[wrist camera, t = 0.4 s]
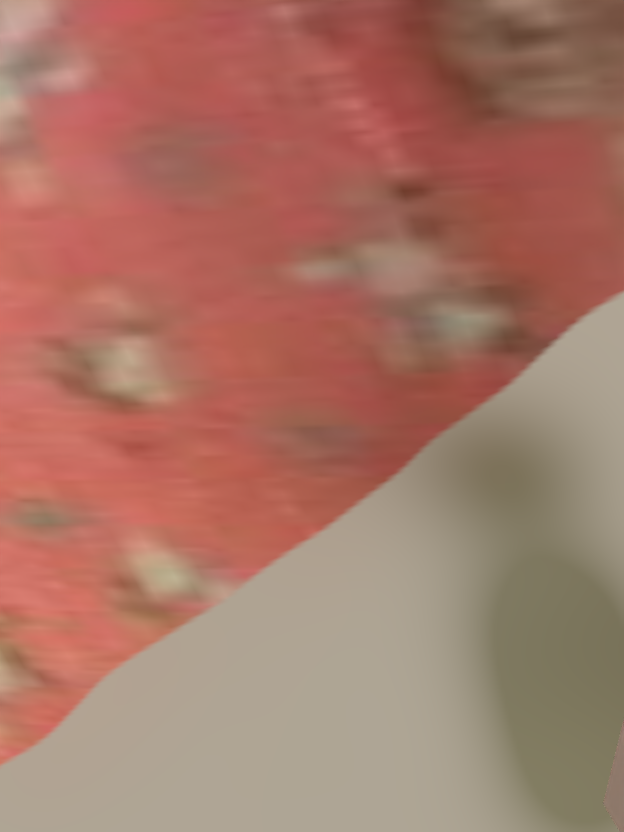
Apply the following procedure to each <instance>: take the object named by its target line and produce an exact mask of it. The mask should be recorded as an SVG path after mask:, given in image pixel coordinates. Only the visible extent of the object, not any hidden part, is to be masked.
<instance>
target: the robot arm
mask: <svg viewBox="0 0 624 832" xmlns="http://www.w3.org/2000/svg"><path fill="white" fill-rule="evenodd" d="M603 804H604V806H605V808H606V809H607V811H608V813H609V814H610V816H611V818H612V819H613V821H614V823H615V825H616V826H617V828H618V830H619V831H620V832H624V720H623V725H622V729H621V733H620V737H619V741H618V745H617V749H616V754H615V758H614V762H613V766H612V770H611V774H610V778H609V782H608V786H607V790H606V795H605V798H604V803H603Z"/></svg>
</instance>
